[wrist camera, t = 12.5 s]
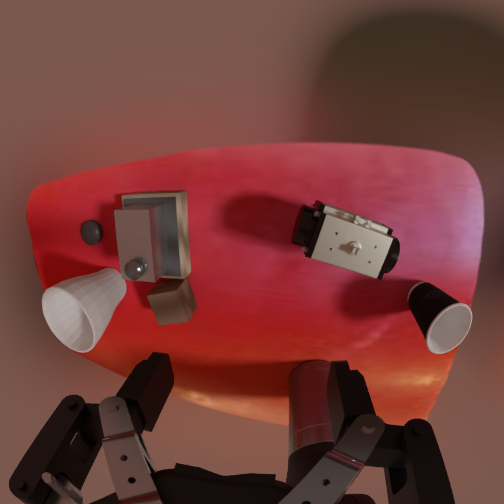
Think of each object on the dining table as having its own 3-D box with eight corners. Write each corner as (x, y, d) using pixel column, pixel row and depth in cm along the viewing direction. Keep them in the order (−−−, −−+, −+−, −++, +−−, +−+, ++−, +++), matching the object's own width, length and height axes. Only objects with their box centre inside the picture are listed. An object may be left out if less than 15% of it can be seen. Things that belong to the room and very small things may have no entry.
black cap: (98, 247, 42) (93, 250, 40) (83, 233, 41) (78, 235, 40) (106, 229, 40) (101, 231, 39) (91, 215, 40) (85, 216, 39)
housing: (133, 203, 35) (109, 211, 29) (165, 203, 34) (145, 211, 29) (138, 265, 38) (118, 281, 32) (169, 268, 37) (151, 285, 32)
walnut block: (197, 305, 43) (188, 321, 38) (170, 309, 43) (159, 325, 39) (187, 276, 41) (176, 290, 36) (159, 282, 42) (146, 295, 37)
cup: (133, 256, 41) (84, 292, 28) (142, 313, 44) (103, 360, 32) (85, 253, 42) (34, 282, 29) (96, 306, 45) (53, 343, 32)
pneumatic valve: (365, 253, 37) (395, 288, 26) (288, 228, 37) (292, 256, 26) (378, 217, 36) (415, 239, 24) (300, 189, 36) (310, 200, 24)
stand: (191, 271, 41) (183, 280, 38) (139, 268, 42) (129, 276, 38) (186, 190, 37) (178, 193, 34) (131, 193, 38) (120, 195, 35)
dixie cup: (423, 262, 37) (459, 292, 26) (445, 290, 38) (479, 322, 27) (389, 299, 39) (416, 338, 29) (414, 323, 40) (441, 362, 29)
